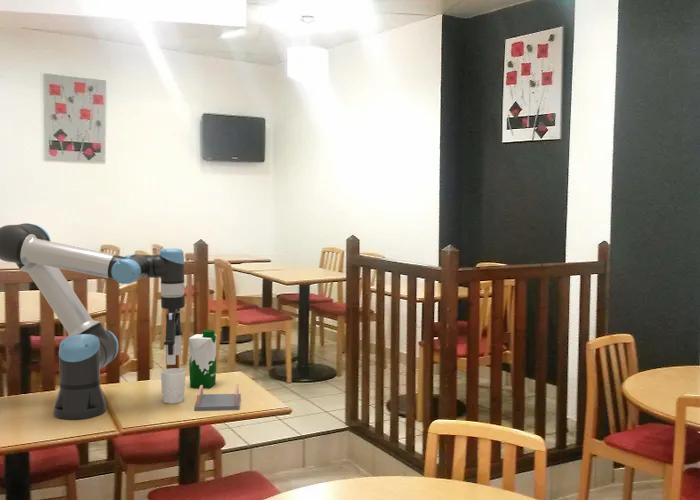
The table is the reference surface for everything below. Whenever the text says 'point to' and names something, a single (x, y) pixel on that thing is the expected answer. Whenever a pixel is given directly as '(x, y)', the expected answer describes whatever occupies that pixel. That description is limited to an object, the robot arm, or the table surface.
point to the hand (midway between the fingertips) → (174, 359)
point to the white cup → (173, 385)
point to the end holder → (217, 401)
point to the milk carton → (202, 359)
